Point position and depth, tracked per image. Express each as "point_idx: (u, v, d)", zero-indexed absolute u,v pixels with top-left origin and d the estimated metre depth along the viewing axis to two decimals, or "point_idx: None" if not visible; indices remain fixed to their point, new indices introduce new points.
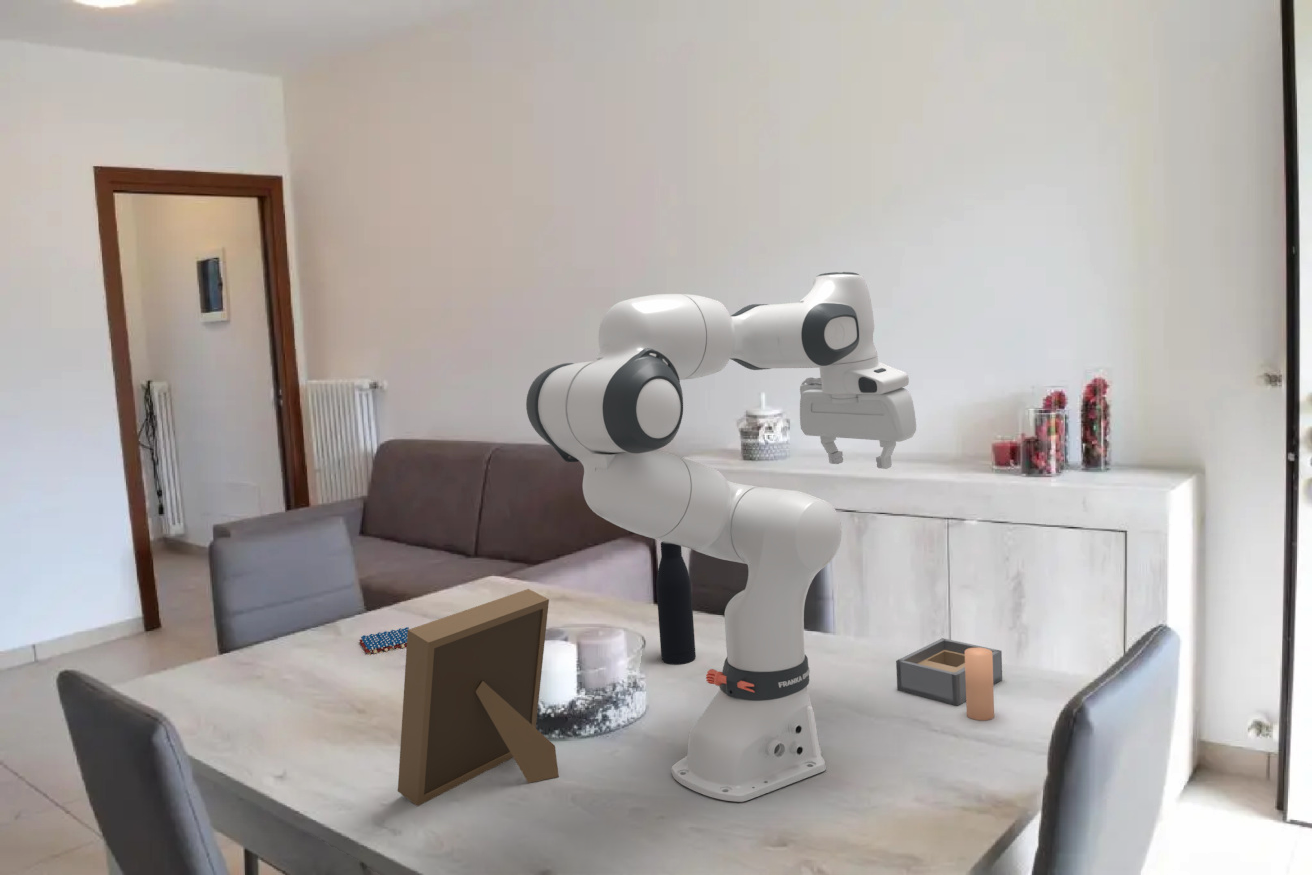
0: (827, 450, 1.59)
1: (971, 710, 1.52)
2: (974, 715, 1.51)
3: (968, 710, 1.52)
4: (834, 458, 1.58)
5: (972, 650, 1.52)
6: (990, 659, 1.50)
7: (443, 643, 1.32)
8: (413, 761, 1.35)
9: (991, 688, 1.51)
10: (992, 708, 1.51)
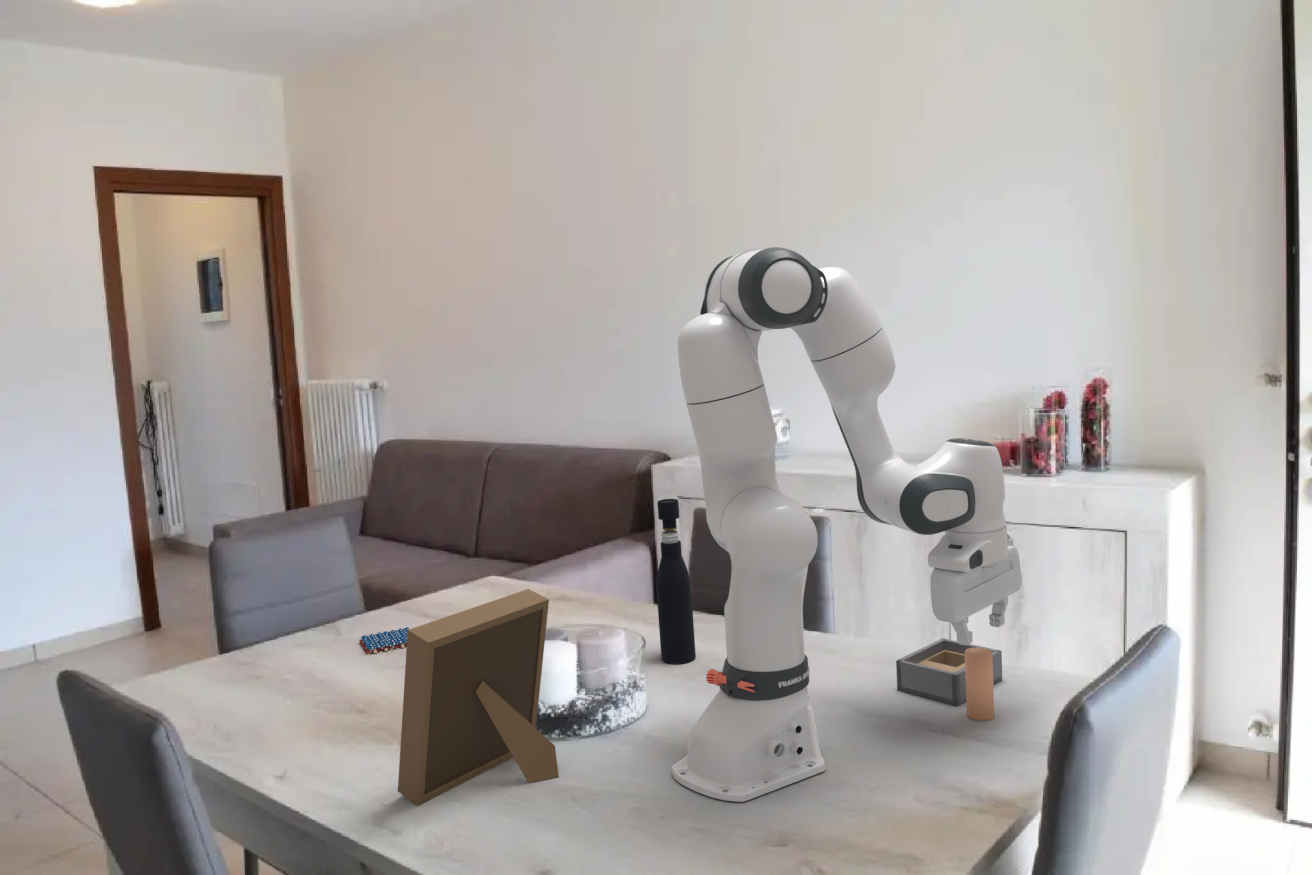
0: (993, 608, 1.56)
1: (971, 710, 1.52)
2: (974, 715, 1.51)
3: (968, 710, 1.52)
4: None
5: (972, 650, 1.52)
6: (990, 659, 1.50)
7: (443, 643, 1.32)
8: (413, 761, 1.35)
9: (991, 688, 1.51)
10: (992, 708, 1.51)
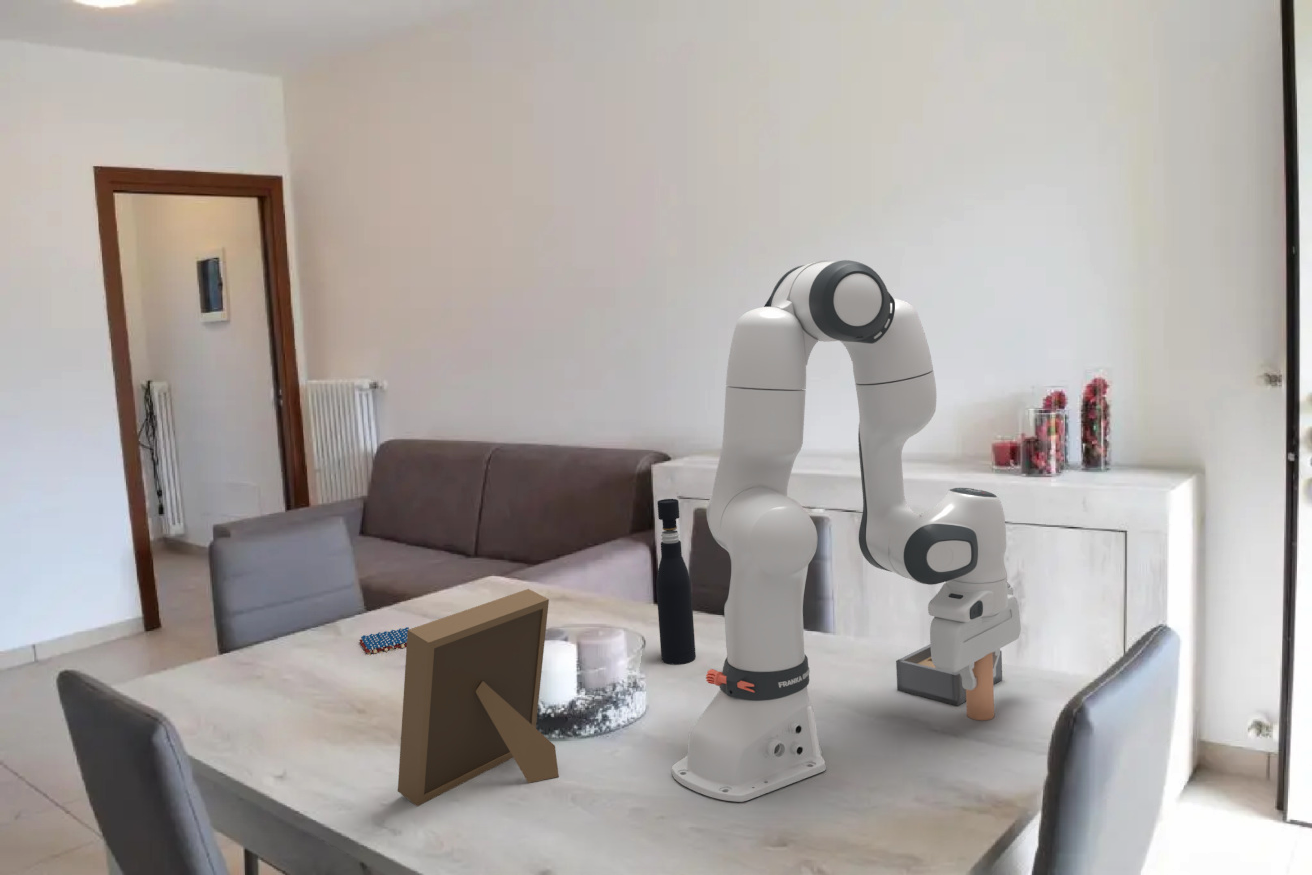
0: None
1: (971, 710, 1.52)
2: (974, 714, 1.51)
3: (968, 709, 1.52)
4: None
5: None
6: (990, 659, 1.50)
7: (443, 643, 1.32)
8: (413, 761, 1.35)
9: (991, 688, 1.51)
10: (992, 708, 1.51)
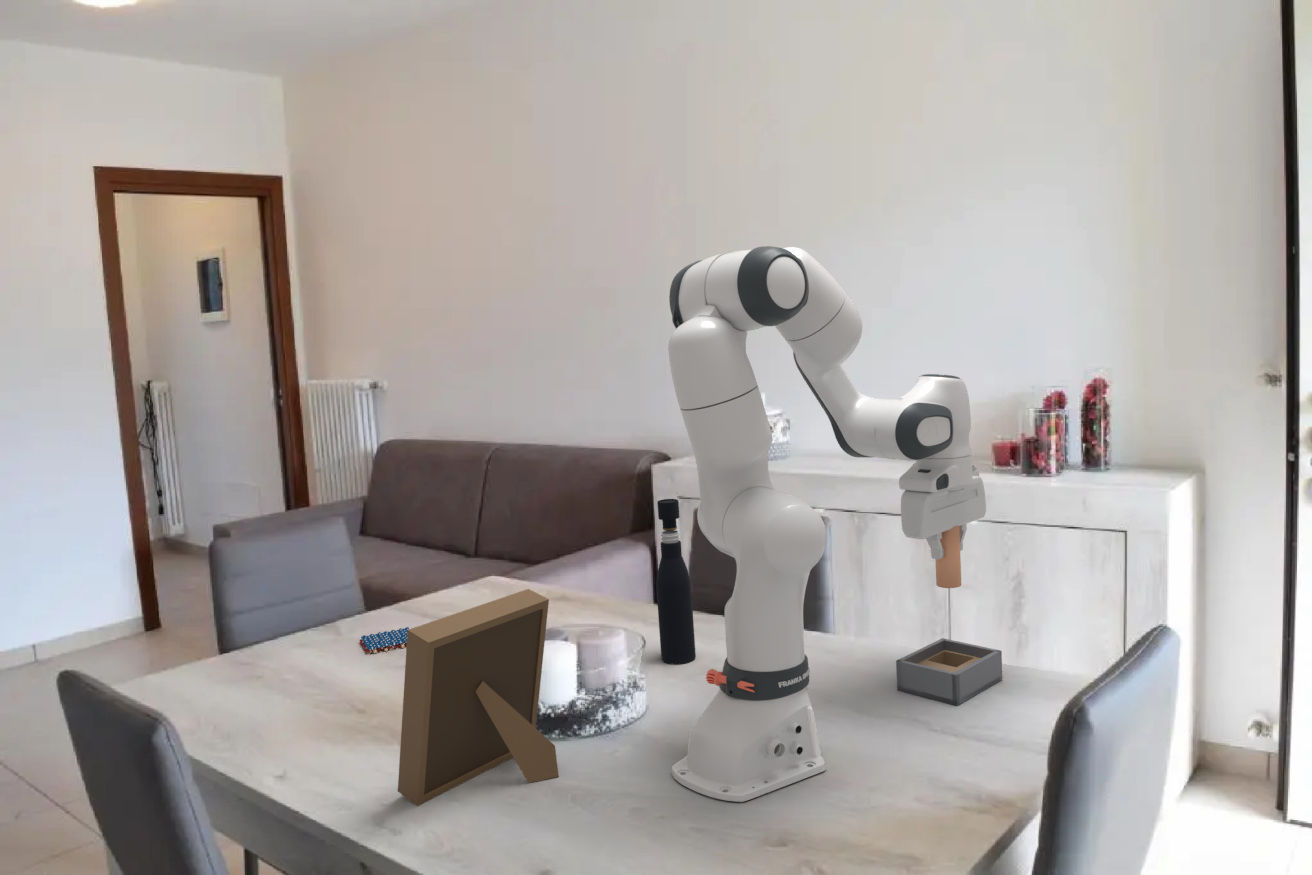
0: None
1: (940, 579, 1.65)
2: (942, 583, 1.65)
3: (938, 579, 1.66)
4: None
5: None
6: (957, 531, 1.64)
7: (443, 643, 1.32)
8: (413, 761, 1.35)
9: (958, 558, 1.64)
10: (959, 577, 1.65)
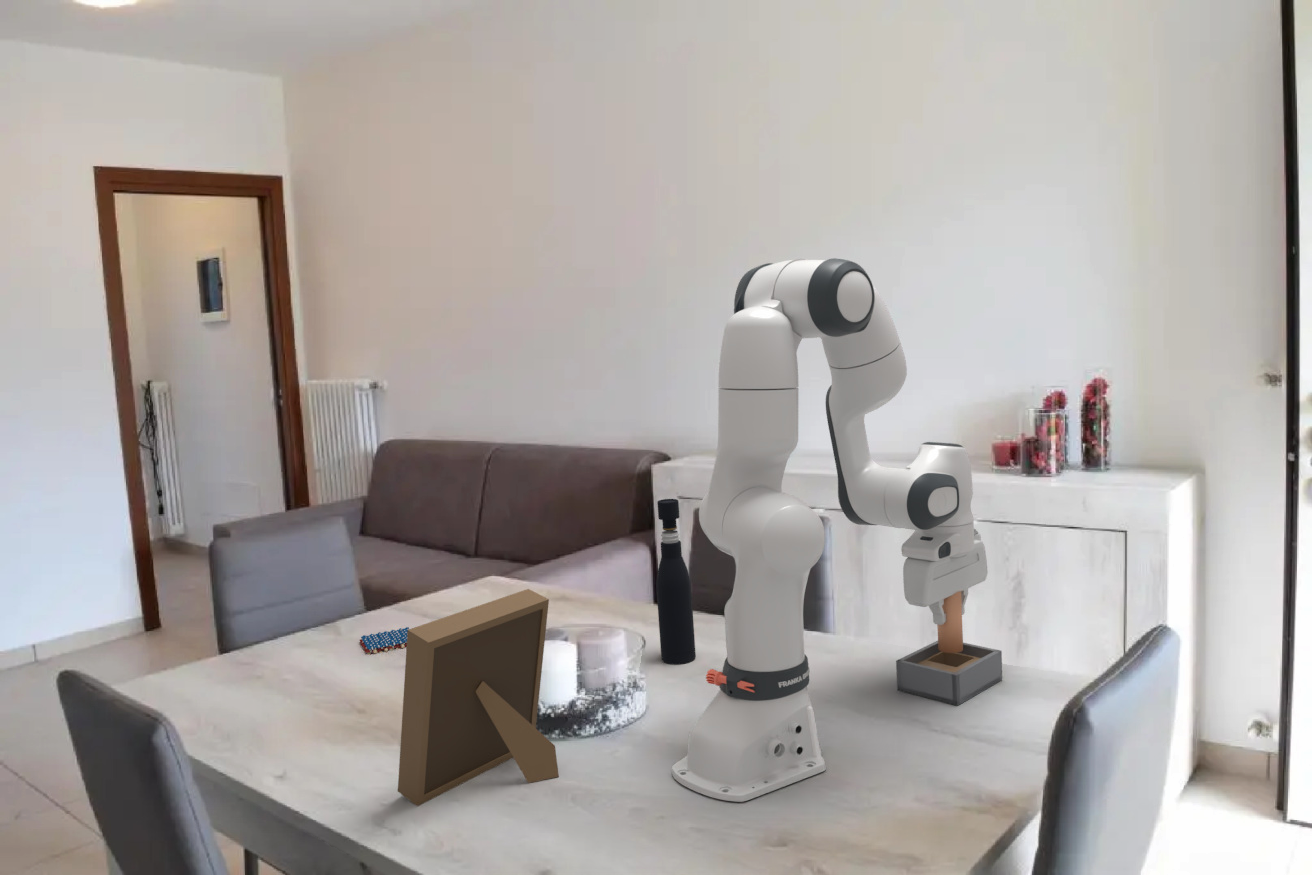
0: None
1: (942, 644, 1.67)
2: (944, 648, 1.66)
3: (940, 644, 1.67)
4: None
5: None
6: (959, 597, 1.65)
7: (443, 643, 1.32)
8: (413, 761, 1.35)
9: (960, 623, 1.66)
10: (961, 642, 1.66)
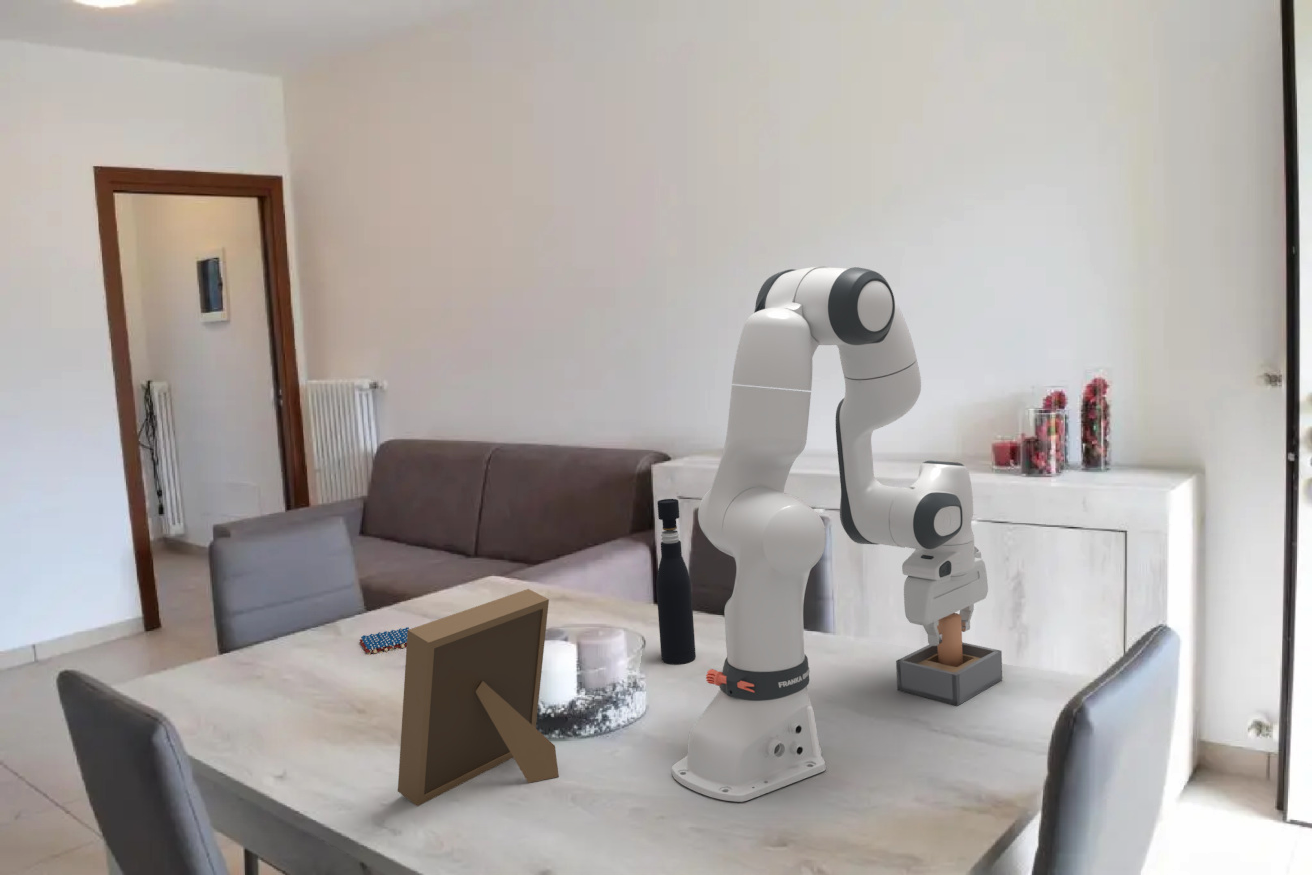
0: None
1: None
2: None
3: None
4: None
5: None
6: (959, 622, 1.66)
7: (443, 643, 1.32)
8: (413, 761, 1.35)
9: (960, 648, 1.66)
10: None
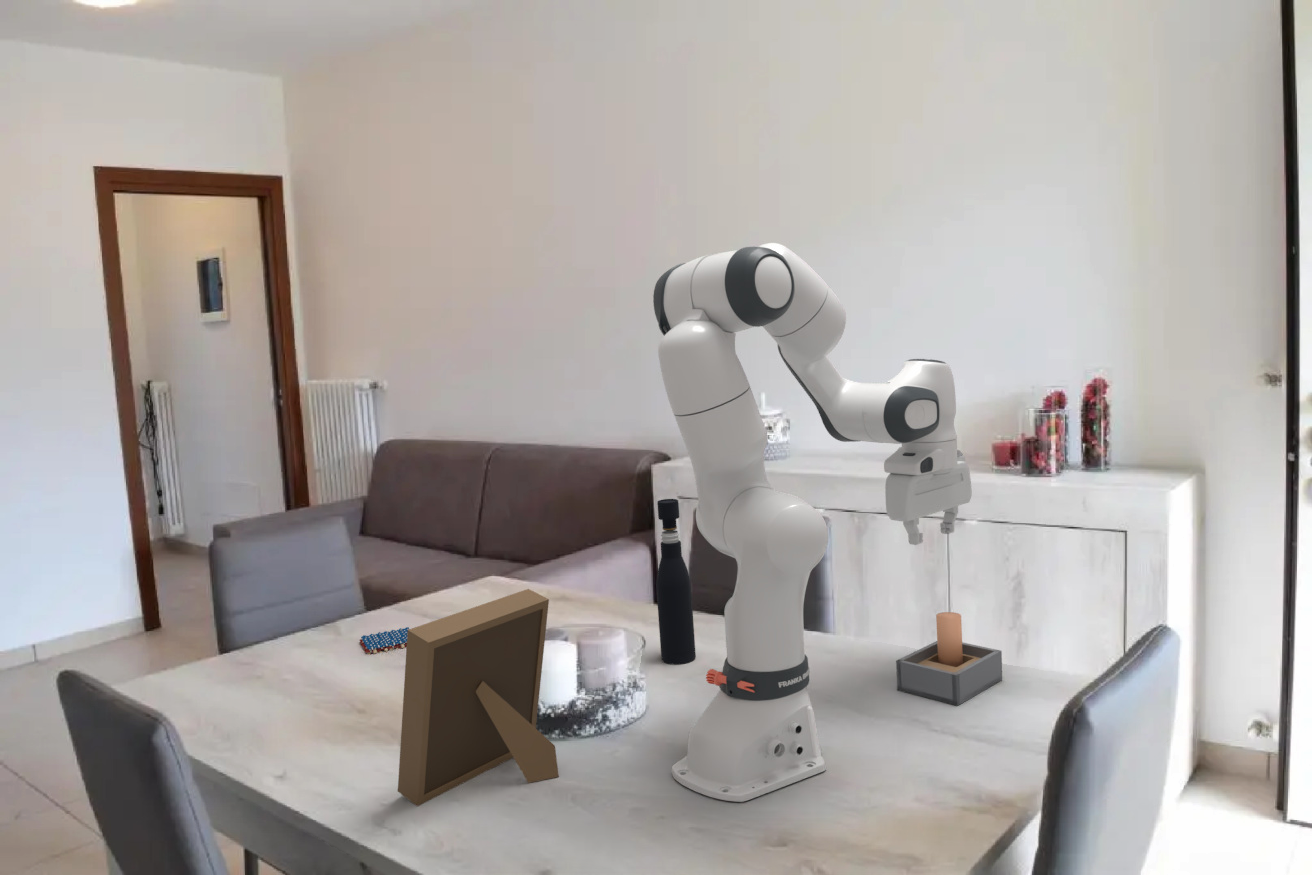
0: (944, 518, 1.71)
1: None
2: None
3: None
4: (941, 527, 1.71)
5: (943, 614, 1.68)
6: (959, 621, 1.66)
7: (443, 643, 1.32)
8: (413, 761, 1.35)
9: (960, 648, 1.66)
10: None
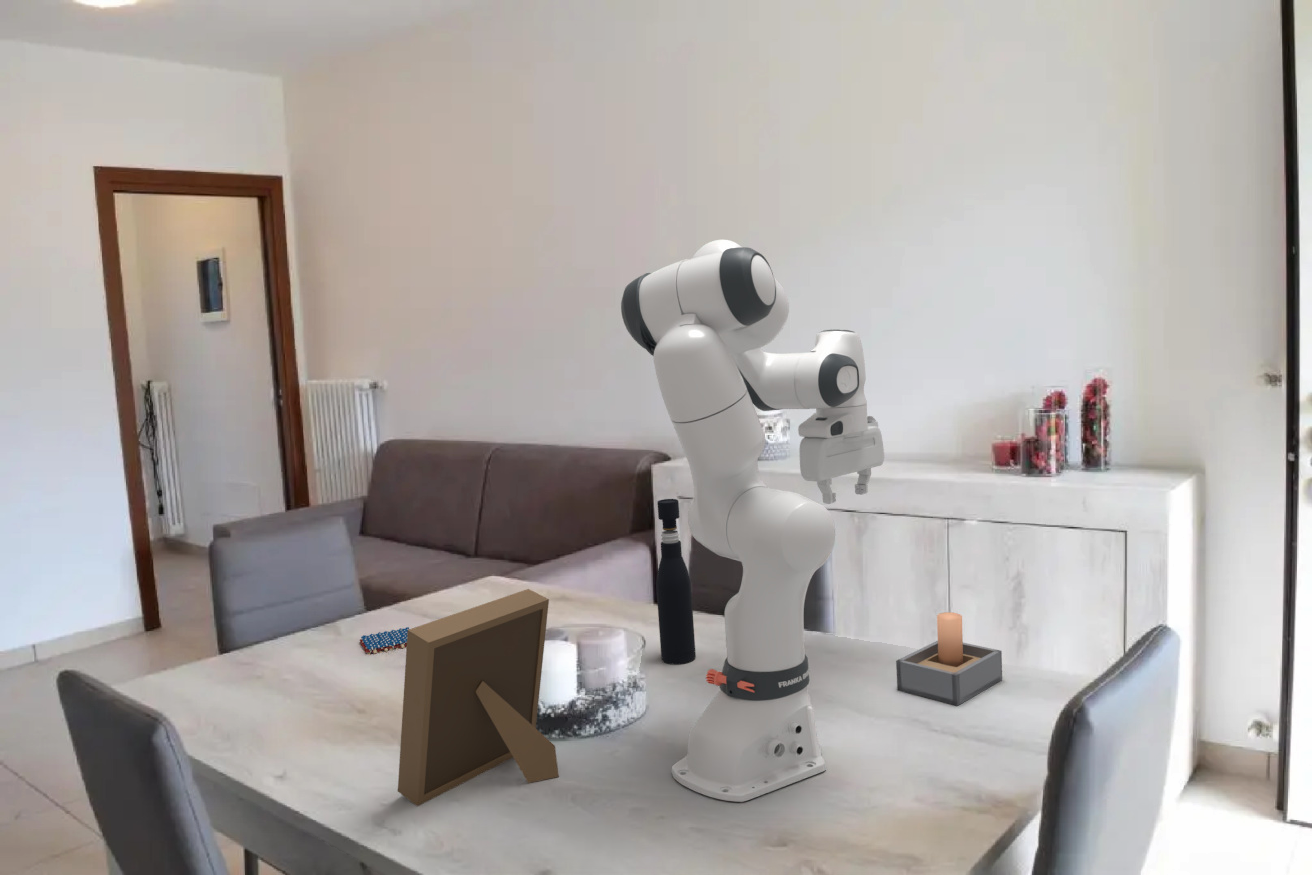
0: (858, 480, 1.83)
1: None
2: None
3: None
4: (855, 488, 1.82)
5: (944, 615, 1.67)
6: (959, 623, 1.65)
7: (443, 643, 1.32)
8: (413, 761, 1.35)
9: (960, 649, 1.66)
10: None
